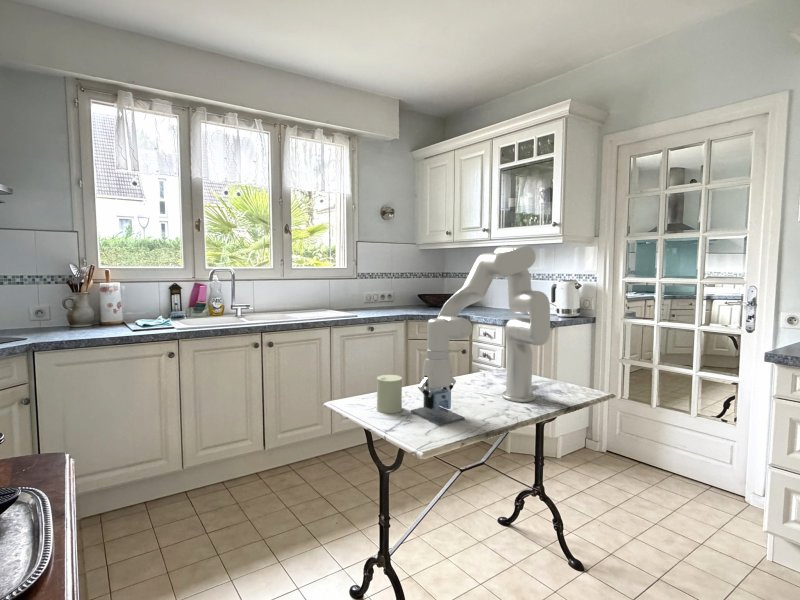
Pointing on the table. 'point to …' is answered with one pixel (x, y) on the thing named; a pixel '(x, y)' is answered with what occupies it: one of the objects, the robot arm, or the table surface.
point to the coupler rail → (438, 415)
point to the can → (389, 393)
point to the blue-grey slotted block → (440, 399)
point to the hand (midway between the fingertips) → (437, 405)
